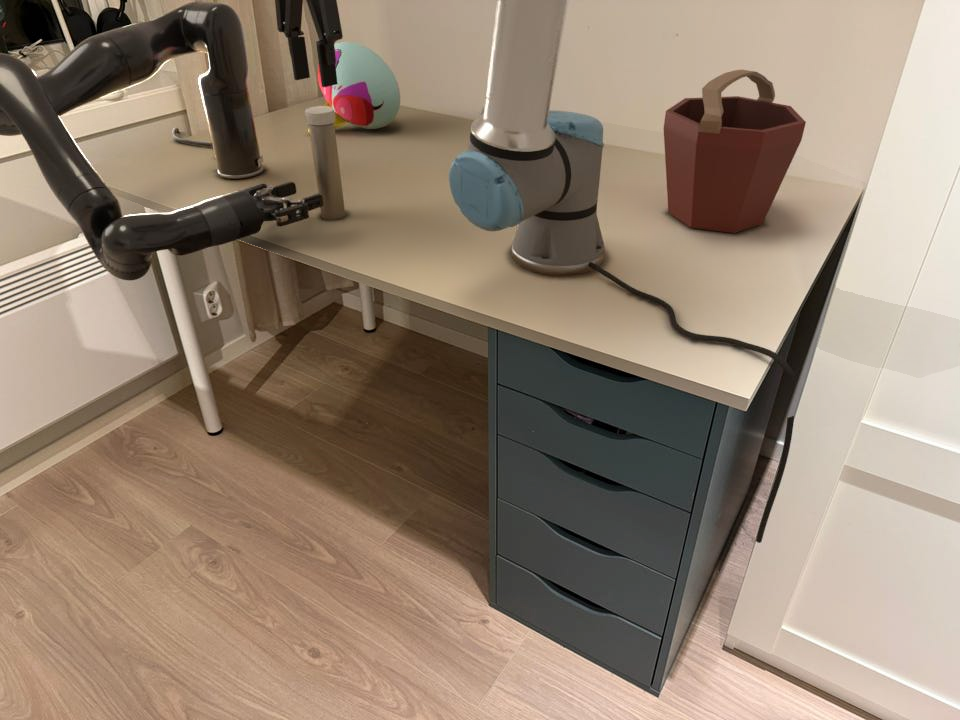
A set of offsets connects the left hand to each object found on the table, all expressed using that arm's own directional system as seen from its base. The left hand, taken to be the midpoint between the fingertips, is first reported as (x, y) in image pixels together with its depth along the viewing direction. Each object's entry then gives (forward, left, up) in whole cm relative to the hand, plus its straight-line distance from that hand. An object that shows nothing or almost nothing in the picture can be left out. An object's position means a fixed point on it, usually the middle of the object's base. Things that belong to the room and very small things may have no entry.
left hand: (308, 193), depth 127 cm
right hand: (0, +5, +18) cm, 19 cm away
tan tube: (0, +5, -6) cm, 7 cm away
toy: (-44, +42, -6) cm, 61 cm away
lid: (0, +5, +13) cm, 14 cm away
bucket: (+51, +55, -6) cm, 75 cm away
